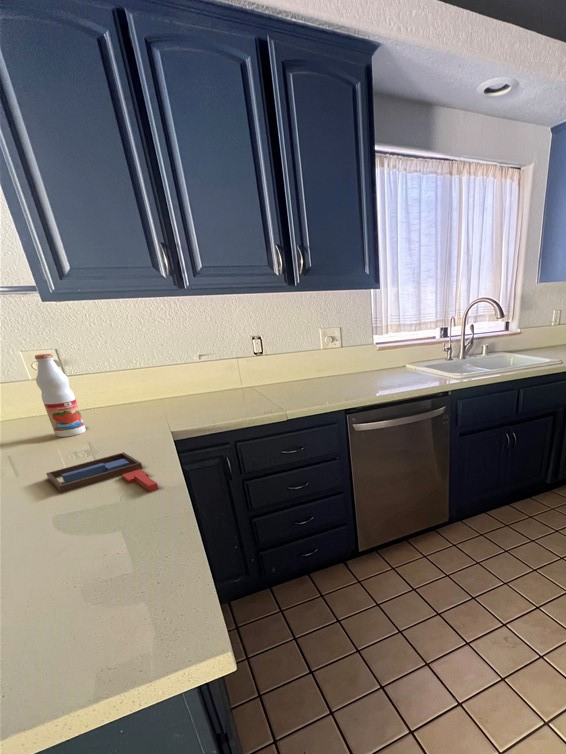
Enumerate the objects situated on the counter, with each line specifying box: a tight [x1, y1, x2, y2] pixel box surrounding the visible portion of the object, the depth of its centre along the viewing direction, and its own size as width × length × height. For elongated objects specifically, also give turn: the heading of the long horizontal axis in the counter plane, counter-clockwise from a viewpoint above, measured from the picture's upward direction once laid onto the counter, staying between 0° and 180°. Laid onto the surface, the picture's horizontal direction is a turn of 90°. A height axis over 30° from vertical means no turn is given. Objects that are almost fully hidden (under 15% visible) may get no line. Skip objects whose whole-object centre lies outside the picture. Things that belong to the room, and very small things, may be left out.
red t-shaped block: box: [121, 469, 159, 492], centre depth 112 cm, size 16×5×2 cm, turn 48°
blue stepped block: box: [61, 459, 131, 484], centre depth 118 cm, size 16×5×2 cm, turn 138°
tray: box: [45, 452, 143, 494], centre depth 118 cm, size 20×14×2 cm
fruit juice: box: [34, 353, 86, 438], centre depth 150 cm, size 9×9×28 cm
